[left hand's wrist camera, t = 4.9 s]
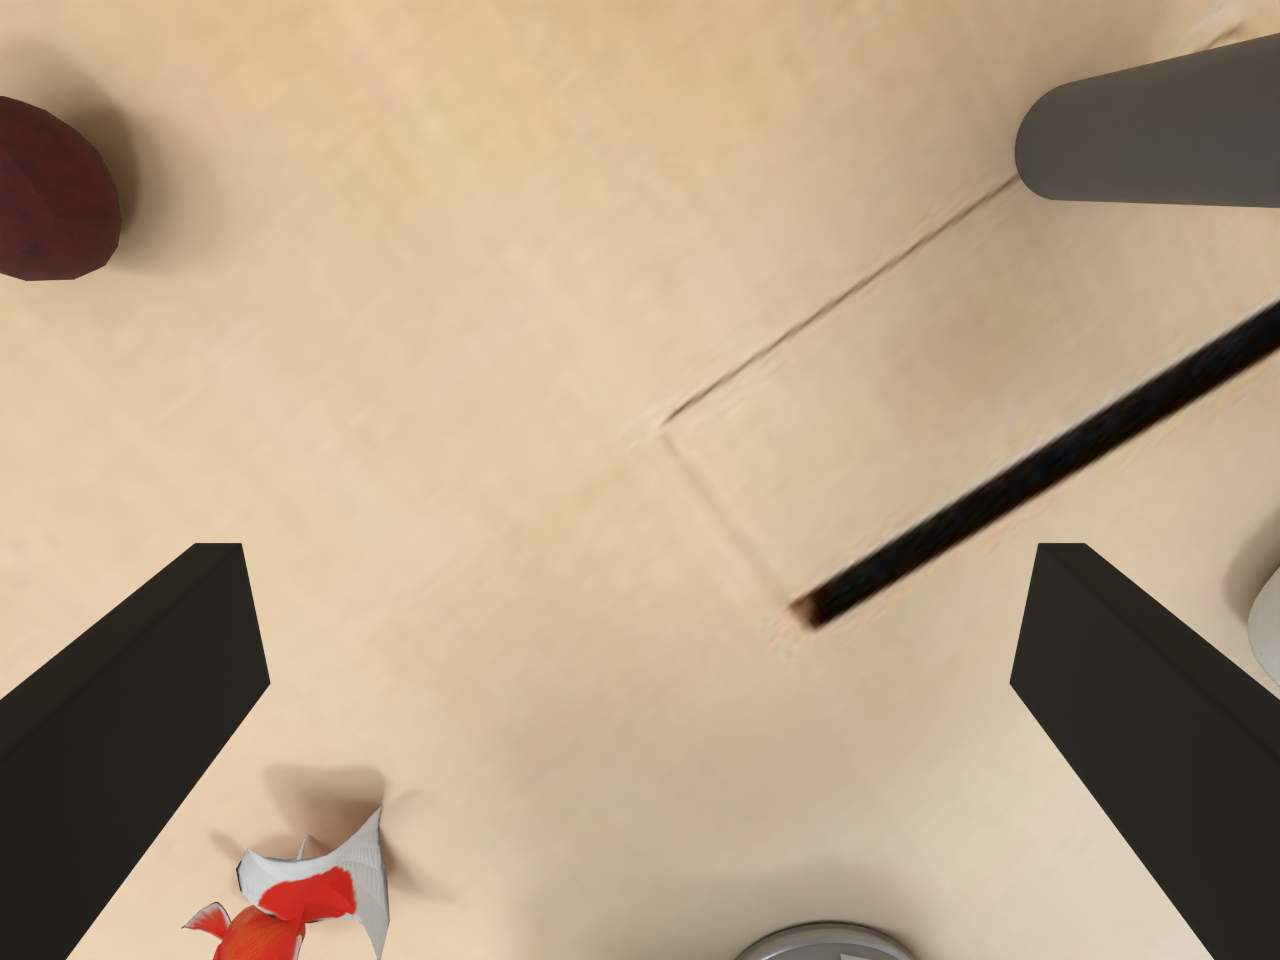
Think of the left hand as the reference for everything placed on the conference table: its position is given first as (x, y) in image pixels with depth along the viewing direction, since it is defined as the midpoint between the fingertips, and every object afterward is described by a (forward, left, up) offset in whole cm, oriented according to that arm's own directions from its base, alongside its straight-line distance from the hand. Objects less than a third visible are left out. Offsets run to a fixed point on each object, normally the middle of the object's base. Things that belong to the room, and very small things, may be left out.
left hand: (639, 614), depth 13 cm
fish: (-35, +22, -28) cm, 50 cm away
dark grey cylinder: (+9, -20, -28) cm, 36 cm away
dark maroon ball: (+6, +27, -28) cm, 39 cm away
